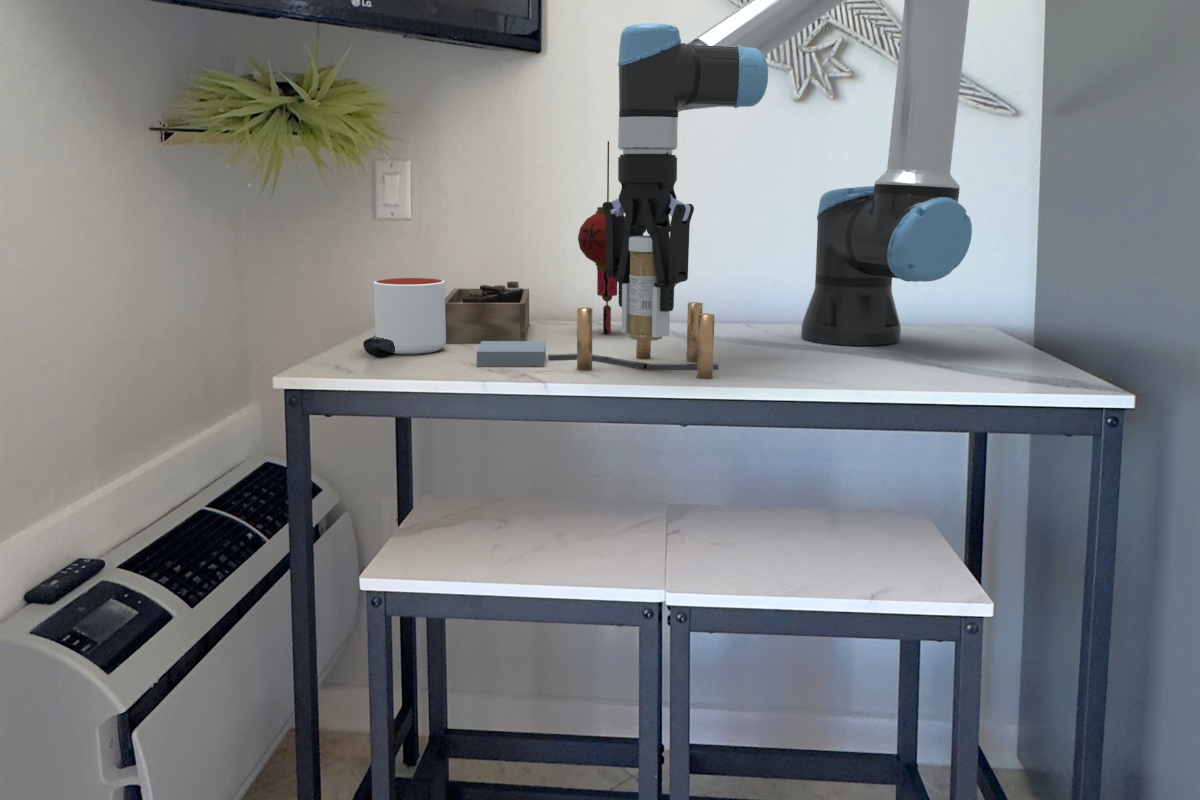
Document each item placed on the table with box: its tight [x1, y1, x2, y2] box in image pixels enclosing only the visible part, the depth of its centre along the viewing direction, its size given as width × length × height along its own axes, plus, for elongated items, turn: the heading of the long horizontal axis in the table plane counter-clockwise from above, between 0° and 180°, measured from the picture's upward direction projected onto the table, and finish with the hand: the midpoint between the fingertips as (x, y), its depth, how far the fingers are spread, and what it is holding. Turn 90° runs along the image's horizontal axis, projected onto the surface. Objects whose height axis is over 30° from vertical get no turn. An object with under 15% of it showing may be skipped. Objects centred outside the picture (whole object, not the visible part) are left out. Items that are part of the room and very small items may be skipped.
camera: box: [461, 281, 524, 303], centre depth 173 cm, size 16×7×8 cm, turn 158°
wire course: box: [547, 301, 719, 380], centre depth 145 cm, size 23×16×8 cm
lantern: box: [577, 140, 625, 335], centre depth 172 cm, size 10×10×30 cm
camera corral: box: [445, 288, 530, 344], centre depth 174 cm, size 13×21×6 cm, turn 2°
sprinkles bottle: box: [628, 234, 663, 342], centre depth 143 cm, size 5×5×14 cm
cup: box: [373, 277, 447, 355], centre depth 157 cm, size 10×10×10 cm
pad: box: [476, 340, 547, 368], centre depth 150 cm, size 9×9×2 cm
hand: (645, 333), depth 144 cm, fingers closed on sprinkles bottle, 4 cm apart
